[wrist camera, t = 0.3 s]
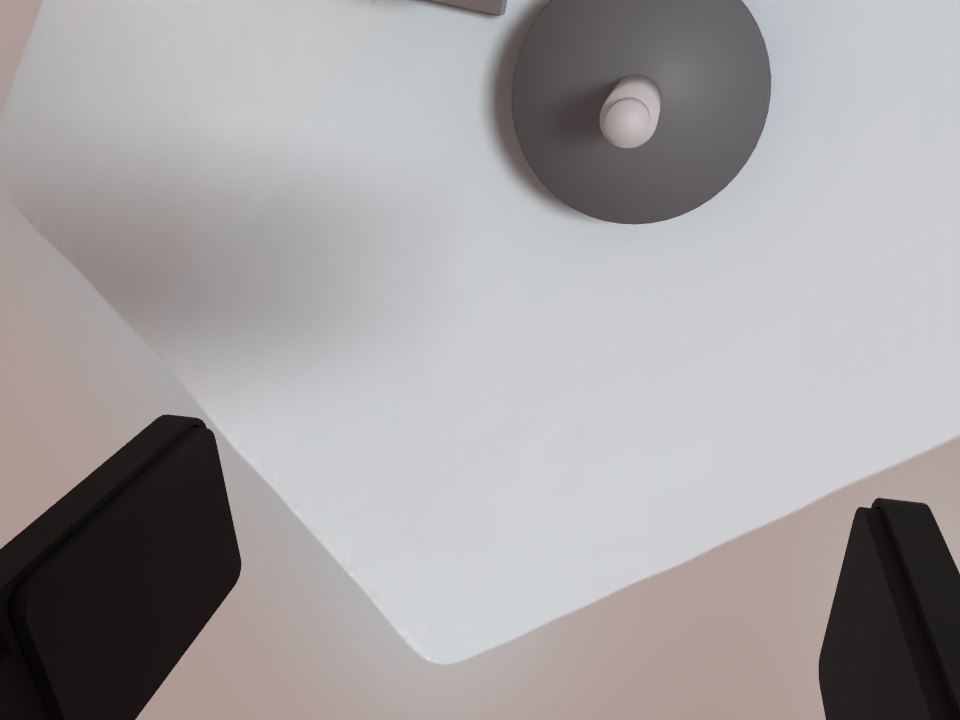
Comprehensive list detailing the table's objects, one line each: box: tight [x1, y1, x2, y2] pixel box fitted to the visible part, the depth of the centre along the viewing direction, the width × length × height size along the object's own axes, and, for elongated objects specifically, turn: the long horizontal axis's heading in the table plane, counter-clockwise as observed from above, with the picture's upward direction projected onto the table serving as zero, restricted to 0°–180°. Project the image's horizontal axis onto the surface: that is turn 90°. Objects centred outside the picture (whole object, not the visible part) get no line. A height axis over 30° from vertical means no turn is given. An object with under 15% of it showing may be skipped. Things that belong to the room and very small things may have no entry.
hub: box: [512, 0, 771, 224], centre depth 32 cm, size 11×11×8 cm
